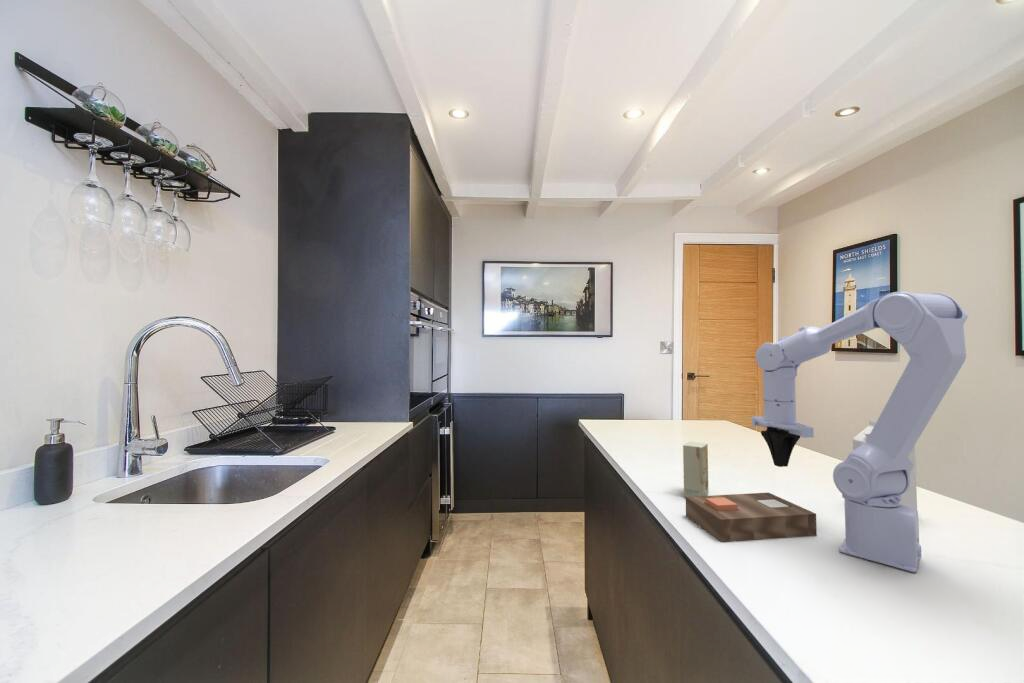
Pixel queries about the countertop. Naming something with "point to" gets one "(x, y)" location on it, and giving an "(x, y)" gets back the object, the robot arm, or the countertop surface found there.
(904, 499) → the milk carton
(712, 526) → the button block
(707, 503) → the terracotta button
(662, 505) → the countertop surface
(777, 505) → the grey button
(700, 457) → the skincare box
